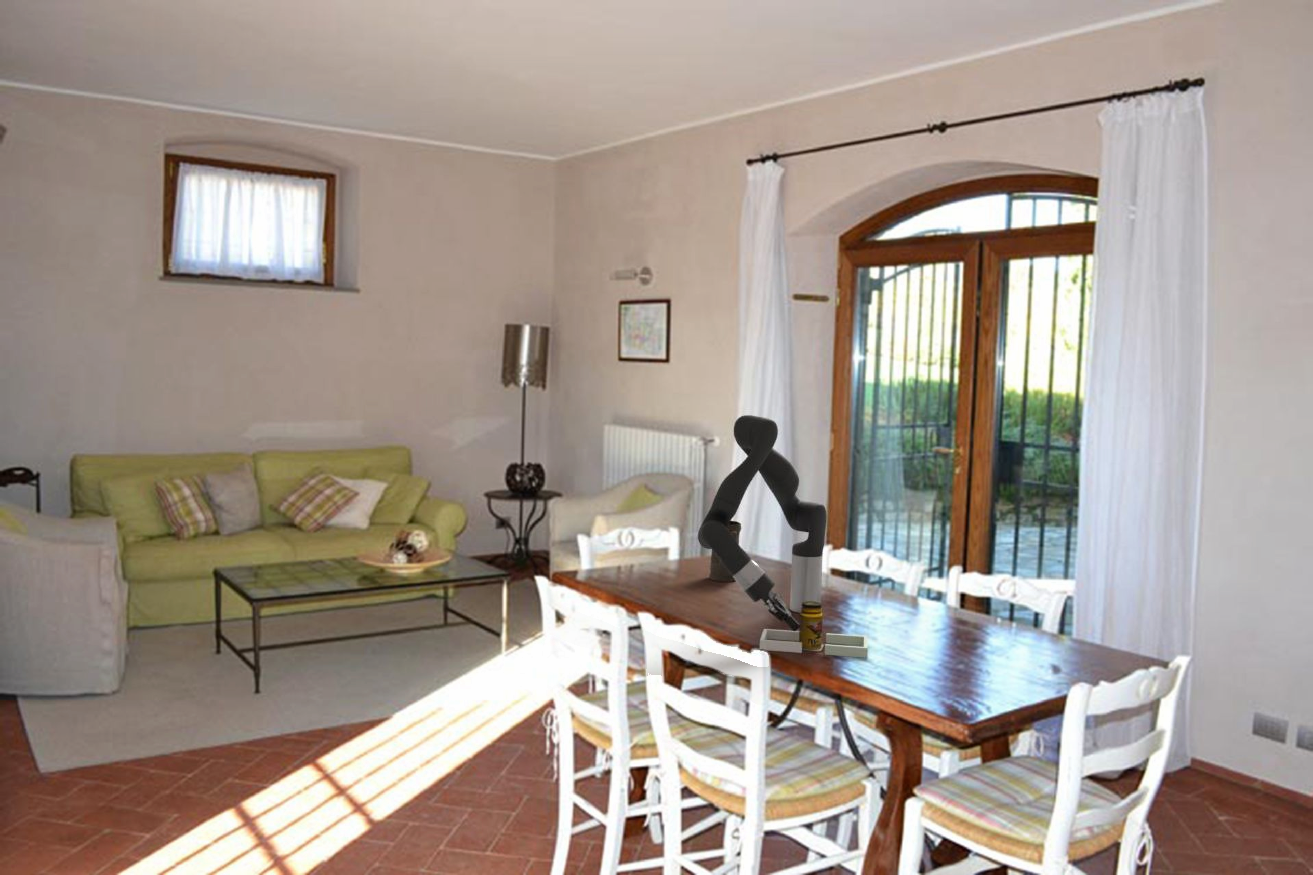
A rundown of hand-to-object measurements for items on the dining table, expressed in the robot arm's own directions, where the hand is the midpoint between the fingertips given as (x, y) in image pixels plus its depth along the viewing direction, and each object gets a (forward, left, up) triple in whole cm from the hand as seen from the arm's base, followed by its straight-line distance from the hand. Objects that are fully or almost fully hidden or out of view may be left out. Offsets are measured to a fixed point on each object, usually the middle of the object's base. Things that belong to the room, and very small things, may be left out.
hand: (797, 628), depth 298 cm
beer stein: (-79, -28, -5) cm, 84 cm away
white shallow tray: (0, +12, -5) cm, 13 cm away
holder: (0, -3, -5) cm, 6 cm away
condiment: (0, +3, -5) cm, 6 cm away
